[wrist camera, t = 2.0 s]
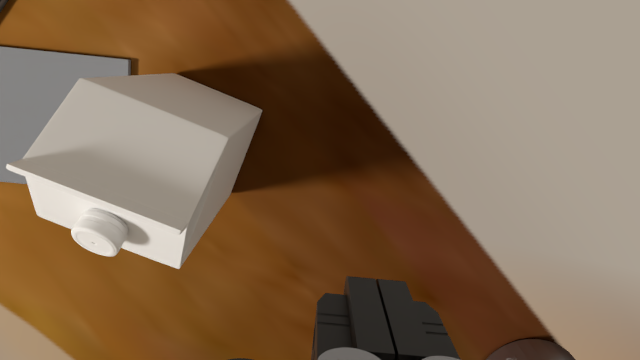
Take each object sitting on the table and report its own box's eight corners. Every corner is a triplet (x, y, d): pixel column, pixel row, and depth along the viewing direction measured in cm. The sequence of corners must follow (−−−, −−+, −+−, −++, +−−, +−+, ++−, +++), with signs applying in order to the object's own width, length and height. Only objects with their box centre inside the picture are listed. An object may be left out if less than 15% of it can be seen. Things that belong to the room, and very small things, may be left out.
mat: (130, 59, 37) (128, 59, 37) (128, 191, 39) (125, 193, 39) (-92, 37, 37) (-97, 36, 36) (-82, 171, 39) (-87, 172, 38)
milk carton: (173, 72, 37) (30, 78, 19) (263, 109, 38) (211, 151, 19) (143, 160, 39) (-18, 247, 20) (230, 194, 39) (152, 309, 21)
